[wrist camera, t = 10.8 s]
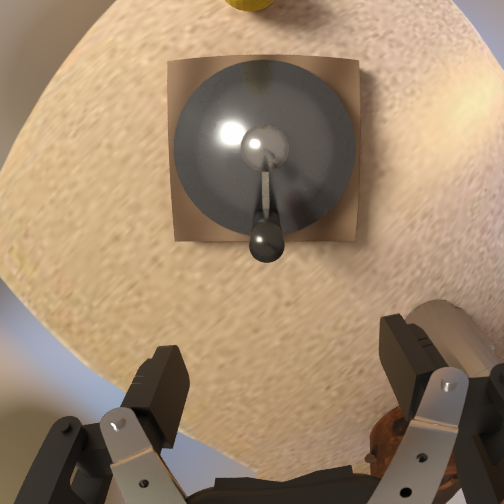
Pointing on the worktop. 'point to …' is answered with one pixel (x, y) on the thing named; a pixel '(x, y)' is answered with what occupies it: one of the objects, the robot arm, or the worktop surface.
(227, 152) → the handwheel
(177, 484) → the robot arm
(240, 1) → the lemon
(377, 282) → the worktop surface
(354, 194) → the wheel stand
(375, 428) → the chocolate muffin
